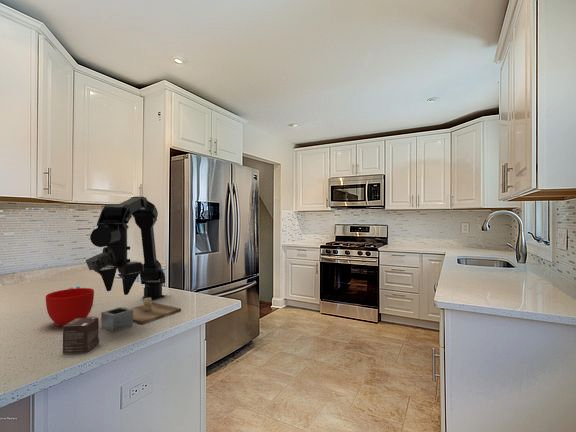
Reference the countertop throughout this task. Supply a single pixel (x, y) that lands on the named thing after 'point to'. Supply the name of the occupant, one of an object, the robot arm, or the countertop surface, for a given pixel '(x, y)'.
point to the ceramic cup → (69, 304)
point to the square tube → (116, 319)
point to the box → (80, 335)
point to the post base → (152, 311)
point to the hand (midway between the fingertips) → (117, 292)
